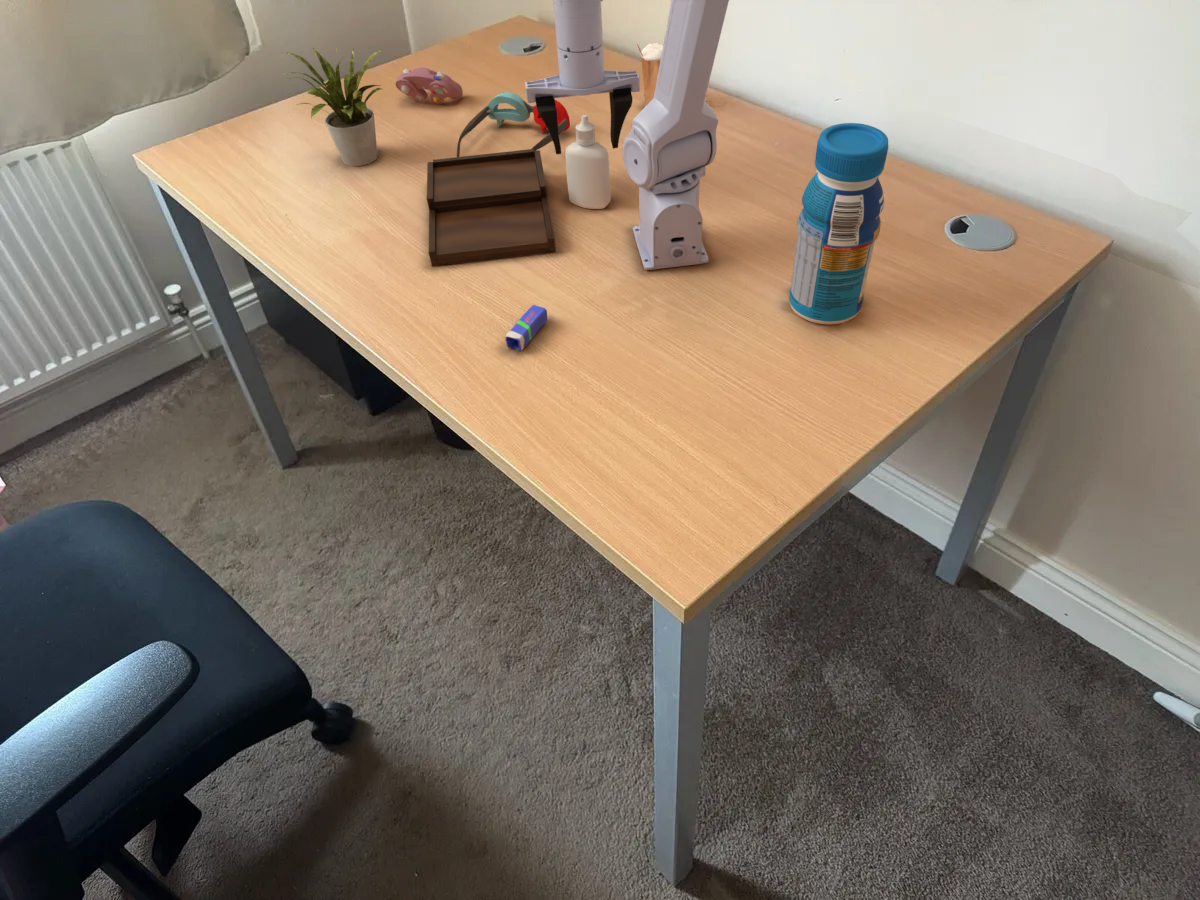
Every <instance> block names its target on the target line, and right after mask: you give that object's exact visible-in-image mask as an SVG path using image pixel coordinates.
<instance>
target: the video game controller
mask: <svg viewBox="0 0 1200 900" xmlns="http://www.w3.org/2000/svg"><path fill="white" fill-rule="evenodd" d="M395 87H396V89H397V90H398V91H399V92H401V93H402V94H404V95H406V96H408V97H411V98H412V99H413V100H415V101H416V102H418V103H422V104H423V103H425V102H426V101H427V98H428V92H427V91H430V95H429V99H430V102H433V104H438V105H443V103H444V101H445V99H451V100H456V101H457V100H461V99H462V97H463V96H464V95H463V94H464V91H463V88H462V85H461V84H460V83H458V82H457V81H455V80H453V79H452V78H451V76H449V75H447V74H445V73H444V72H442V71H435V70H433V69H429V68H426V67H417V68H414V69H413V68H412V69H411V70H409V69H408V68H403V71H402V72H401V73H400V74H399V75H398V76H397V78H396V81H395Z"/></svg>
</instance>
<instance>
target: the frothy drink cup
mask: <svg viewBox="0 0 1200 900" xmlns="http://www.w3.org/2000/svg"><path fill="white" fill-rule="evenodd" d="M636 46H637V48H638V51H639V54H640V60H641V61H640V62H641V71H642V79H643V80H642V81H643V92H644V93H643V94H644V104H645V106H646V105H647V104H648V103H649V102H650V101H651V100H652V99H653V98H654V93H655V88H656V82H657V77H658V72H659V66H660V61H661V55H662V50H663V44H661V43H658V42H655V43H648V44H646V46H645V47H644V48H642V50H641V48H640V45H639V44H638V43H636Z"/></svg>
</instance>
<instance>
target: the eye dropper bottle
mask: <svg viewBox="0 0 1200 900" xmlns="http://www.w3.org/2000/svg"><path fill="white" fill-rule="evenodd" d="M575 137H576V138H575V139H576V140H575V141H572V142H571V143H569V145H568V146H567V147H566V148H565V169H566V183H567V193H568V194H567V195H568V200H569V202H570V203H571V204H573V205H575V206H577V207H579V208H584V209H590V210H603V209H605V208H607V206H608V205H609V204H610V203H611V201H612V200H611V199H612V197H611V195H612V194H611V177H610V176H611V175H610V174H611V173H610V158H609V151H608V149H607V148H606V147H605V146H603V145H602V144H600V142H597V141H596V126H595V124H593V123H592V122H590V121H589V118H588V114H582V115H581V119H580V123H578V124H577V125H576V126H575Z"/></svg>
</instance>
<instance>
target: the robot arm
mask: <svg viewBox="0 0 1200 900" xmlns="http://www.w3.org/2000/svg"><path fill="white" fill-rule="evenodd" d="M603 1H604V0H552V6H553V15H554V27H555V42H556V53H557V66H558V74H556V75H551V76H548V77H544V78H541V79H535V80H531V81H525V82H524V87H525V95H526V96H525V97H526V103H527V104H533V103H535V105H536V106H537V111H538V113H539V115H540V117H541V118H542V120H543V121H544V123H545V125H546V126H547V130H548V132H549V133H550V135H551V137H552V143H553V147H554V150H555V151H554V152H555V155H562V146H561V141H560V140H561V139H560V135H559V134H558V122H557V110H556V104H555V100H556V99H558V98H560V99H561V98H569V97H579V96H582V97H583V96H590V95H595V94H596V95H597V94H598V95H599V94H608V95H609V108H610V129H609V130H610V133H609V134H610V143H611V147H612V149H618V148H619V142H620V136H621V132H622V129H623V125H624V122H625V120H626V118H627V115H628V113H629V112H630V109H631V108H632V104H633V94H632V93H640V91H641V88H640V87H641V84H640V82H641V81H640V75H639V72H638V70H608V69H605V62H604V60H605V59H604V40H603V38H604V37H603V35H604V34H603V17H602V16H603V15H602V2H603ZM729 2H730V0H671V2H670V7H669V11H668V12H669V13H668V17H667V24H666V29H665V33H664V39H663V44H662V45H663V50H662V55H661V61H660V66H659V72H658V77H657V82H656V88H655V93H654V98H653V99H652V100H651V101H650V102H649V103H648V104H647V105H645V107H643V109H641V110H640V111H639V112H638V114H637V115H636V116H635V117H634V118H633V119H632V123H631V129H630V131H629V133H628V134H627V135H626V136H625V138H624V141H623V144H622V145H623V146H622V163H623V166H624V168H625V171H626V173H627V175H628V177H629V178H630V180H631V181H632V182H633V183H634V184H635V185H637V186H638V197H639V199H638V200H639V201H638V203H639V204H638V206H639V212H638V213H639V225H635V226H632V233H633V236H634V237H633V238H634V239H635V243H636V246H637V249H638V253H639V256H640V257H639V258H640V259H641V263H642V268H643V269H644V270H645V271H652V270H660V269H668V268H677V267H687V266H694V265H702V264H708V263H709V256H708V253H707V250H706V248H705V245H704V243H703V215H702V212H701V210H700V207H699V206H700V185H701V184H700V183H701V179H702V178H703V177H705V176H706V167H707V166H710V165H711V164H712V163H713V162H714V160H715V158H716V154H717V147H718V142H717V127H718V124H719V118H718V116H717V115H716V113H715V111H714V109H713V108H712V107H711V106H710V104H708V103H707V102H706V101H705V100H706V95H707V91H708V88H709V83H710V79H711V74H712V71H713V67H714V63H715V59H716V56H717V51H718V47H719V42H720V38H721V34H722V30H723V26H724V22H725V18H726V14H727V10H728V6H729ZM549 133H548V134H549Z"/></svg>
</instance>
